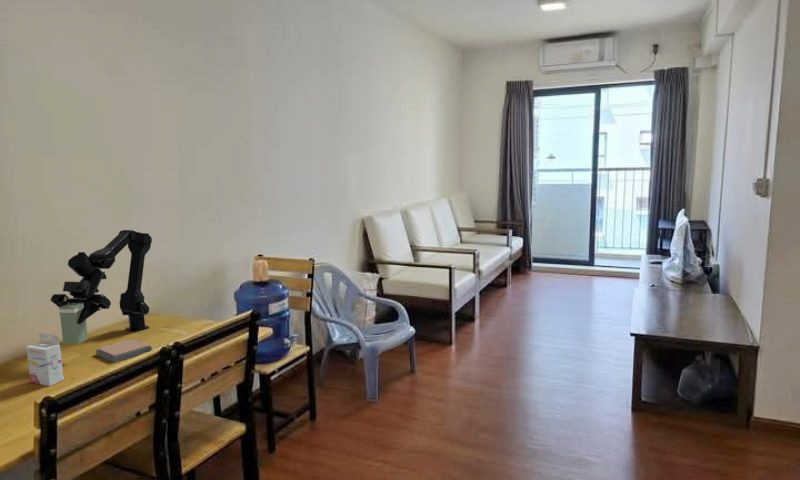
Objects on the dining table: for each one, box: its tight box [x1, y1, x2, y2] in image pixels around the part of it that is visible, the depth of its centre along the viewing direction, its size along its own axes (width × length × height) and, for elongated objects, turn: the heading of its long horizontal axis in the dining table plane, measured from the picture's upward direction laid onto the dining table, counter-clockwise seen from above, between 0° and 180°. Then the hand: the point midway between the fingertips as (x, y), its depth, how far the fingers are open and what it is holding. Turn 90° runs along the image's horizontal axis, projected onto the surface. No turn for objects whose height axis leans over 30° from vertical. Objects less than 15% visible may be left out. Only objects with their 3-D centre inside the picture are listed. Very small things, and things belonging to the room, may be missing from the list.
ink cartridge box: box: [25, 332, 65, 387], centre depth 160 cm, size 9×5×15 cm, turn 71°
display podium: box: [95, 338, 153, 364], centre depth 185 cm, size 13×13×2 cm
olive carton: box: [58, 304, 89, 345], centre depth 177 cm, size 6×5×12 cm
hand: (70, 323), depth 176 cm, fingers closed on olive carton, 5 cm apart
